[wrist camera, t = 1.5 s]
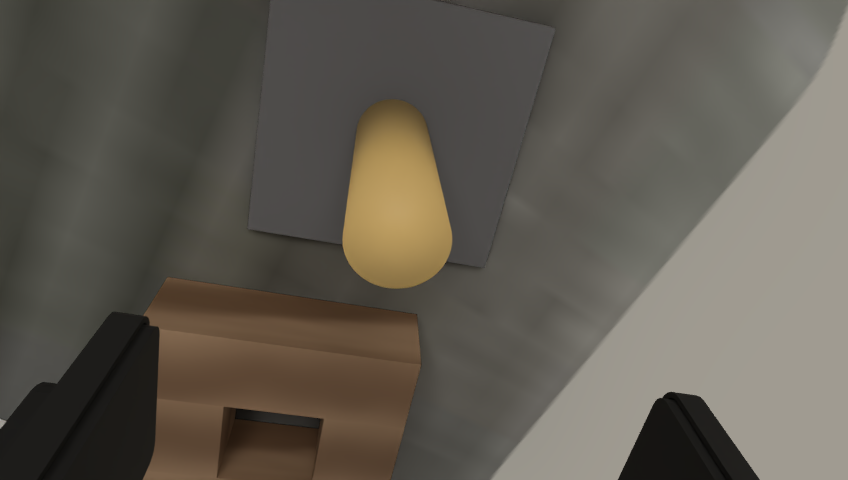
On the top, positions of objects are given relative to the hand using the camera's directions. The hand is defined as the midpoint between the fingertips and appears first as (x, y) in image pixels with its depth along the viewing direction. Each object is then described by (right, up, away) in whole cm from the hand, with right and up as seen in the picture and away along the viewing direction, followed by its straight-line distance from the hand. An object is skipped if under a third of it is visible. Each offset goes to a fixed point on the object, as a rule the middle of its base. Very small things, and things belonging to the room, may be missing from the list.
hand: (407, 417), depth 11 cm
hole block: (-7, -5, +21) cm, 22 cm away
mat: (-1, +8, +15) cm, 17 cm away
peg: (-1, +8, +14) cm, 16 cm away
